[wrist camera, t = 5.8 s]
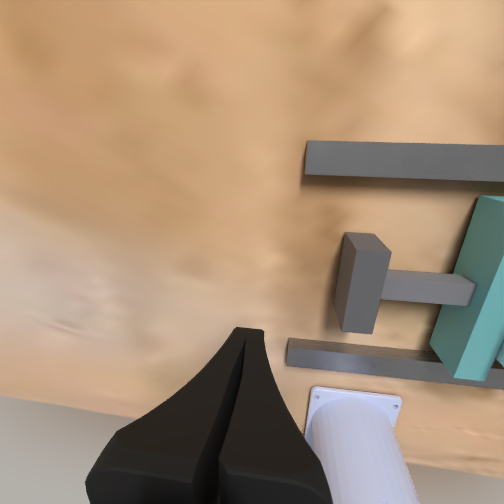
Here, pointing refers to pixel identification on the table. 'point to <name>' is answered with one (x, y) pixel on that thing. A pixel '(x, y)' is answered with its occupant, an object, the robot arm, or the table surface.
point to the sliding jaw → (435, 291)
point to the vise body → (395, 166)
